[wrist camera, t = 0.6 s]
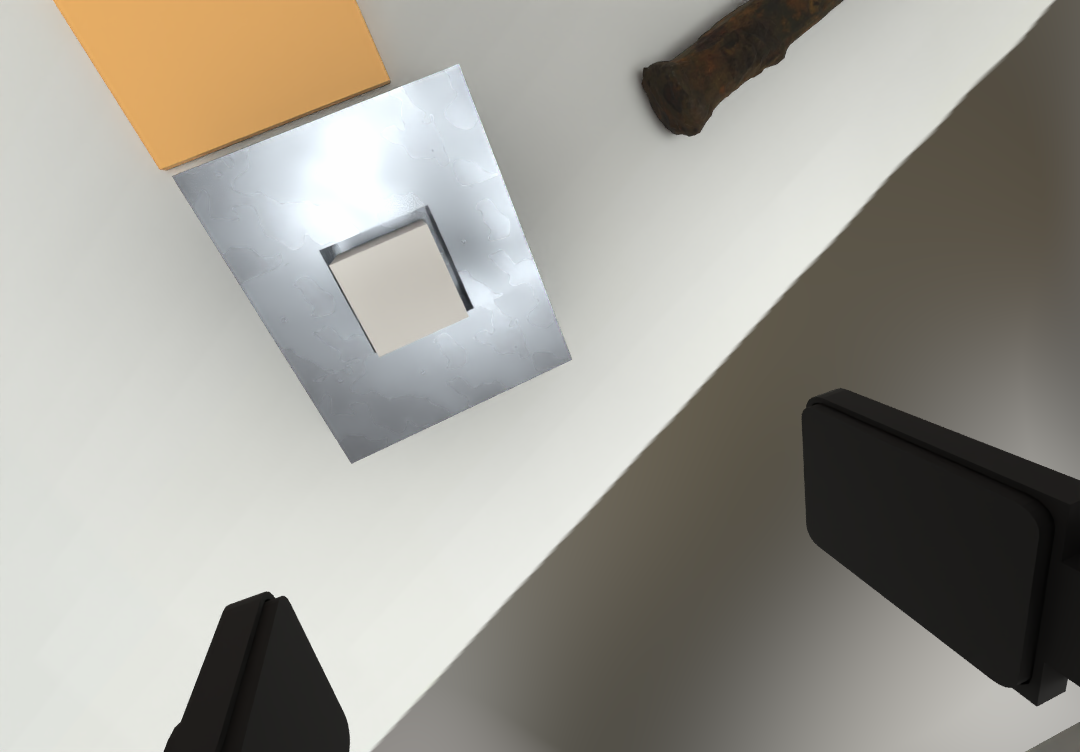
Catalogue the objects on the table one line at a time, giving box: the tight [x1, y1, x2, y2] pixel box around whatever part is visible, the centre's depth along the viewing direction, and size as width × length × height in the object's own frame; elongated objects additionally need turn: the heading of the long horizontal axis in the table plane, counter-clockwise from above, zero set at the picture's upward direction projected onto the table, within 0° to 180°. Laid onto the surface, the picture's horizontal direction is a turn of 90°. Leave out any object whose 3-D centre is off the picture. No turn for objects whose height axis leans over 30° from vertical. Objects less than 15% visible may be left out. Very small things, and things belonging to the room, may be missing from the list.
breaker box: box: [172, 64, 572, 464], centre depth 26 cm, size 12×14×5 cm
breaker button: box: [329, 219, 469, 357], centre depth 23 cm, size 4×4×4 cm
